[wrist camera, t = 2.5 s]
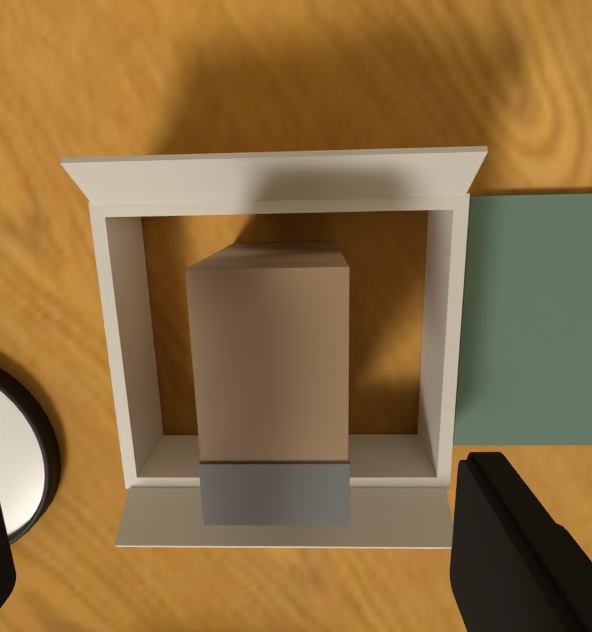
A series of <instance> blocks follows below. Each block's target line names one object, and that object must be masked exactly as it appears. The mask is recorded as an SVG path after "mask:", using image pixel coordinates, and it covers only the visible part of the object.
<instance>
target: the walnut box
mask: <svg viewBox="0 0 592 632" xmlns="http://www.w3.org/2000/svg"><path fill="white" fill-rule="evenodd" d="M185 280H186V292H187V304H188V316H189V328H190V340H191V352H192V364H193V377H194V389H195V401H196V413H197V425H198V437H199V449H200V462H199V464H198V465H199V476H200V488H201V500H202V512H203V524H204V525H285V526H349V517H350V461H349V455H348V409H349V265H348V264H347V262H346V260H345V259H344V257H343V255H342V254H341V252H340V250H339V248H338V247H337V245H336V243H335V242H334V241H328V242H278V243H233V244H231V245H230V246H228V247H226V248H224V249H222V250H220V251H219V252H217V253H215V254H213V255H211V256H209V257H207V258H206V259H204V260H202V261H200V262H198V263H196V264H195V265H193V266H191V267H189V268H187V269H185Z"/></svg>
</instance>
